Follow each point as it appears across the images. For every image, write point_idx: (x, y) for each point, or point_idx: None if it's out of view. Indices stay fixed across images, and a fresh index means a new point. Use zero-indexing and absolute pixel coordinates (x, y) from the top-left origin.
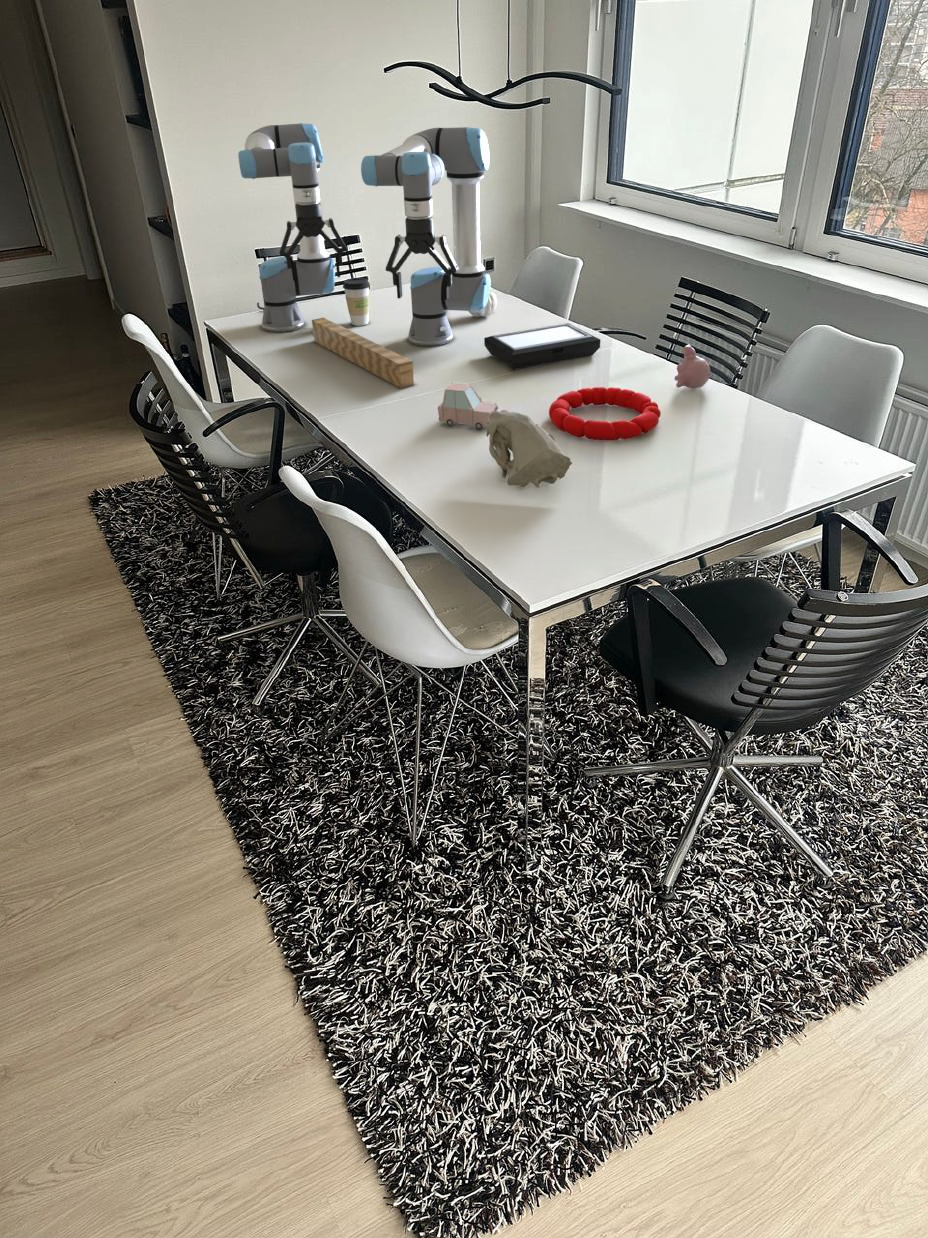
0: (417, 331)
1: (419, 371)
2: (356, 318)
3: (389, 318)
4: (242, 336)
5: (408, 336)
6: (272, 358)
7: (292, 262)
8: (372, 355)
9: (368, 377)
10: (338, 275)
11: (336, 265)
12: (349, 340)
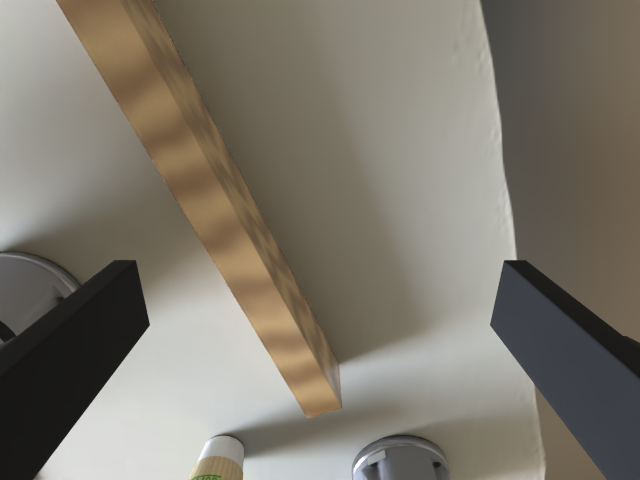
0: (34, 292)
1: (23, 24)
2: (227, 451)
3: (157, 463)
4: (499, 431)
5: None
6: (459, 268)
7: (635, 366)
8: (147, 35)
9: (192, 10)
10: (121, 265)
11: (77, 327)
12: (232, 201)
